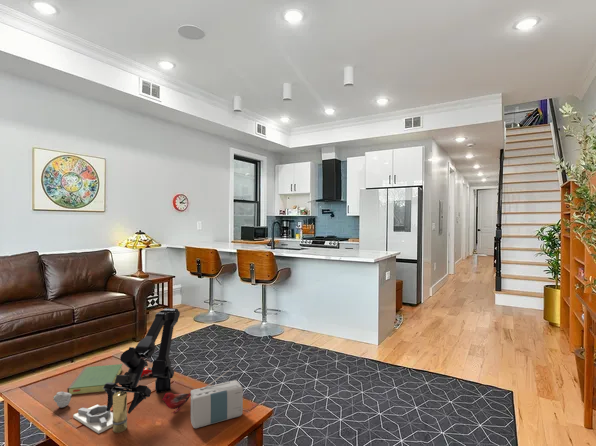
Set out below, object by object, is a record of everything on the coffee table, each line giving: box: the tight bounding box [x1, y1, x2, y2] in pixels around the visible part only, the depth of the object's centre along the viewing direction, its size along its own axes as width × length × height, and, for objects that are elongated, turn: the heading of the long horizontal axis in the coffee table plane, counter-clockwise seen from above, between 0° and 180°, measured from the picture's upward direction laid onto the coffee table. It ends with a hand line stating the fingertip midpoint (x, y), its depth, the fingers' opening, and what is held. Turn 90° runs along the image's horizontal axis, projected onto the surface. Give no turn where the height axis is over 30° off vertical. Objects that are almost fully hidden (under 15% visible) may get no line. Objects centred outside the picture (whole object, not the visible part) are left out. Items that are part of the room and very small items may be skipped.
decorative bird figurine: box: [161, 392, 191, 414], centre depth 156 cm, size 3×18×10 cm, turn 139°
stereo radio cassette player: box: [190, 365, 244, 429], centre depth 149 cm, size 21×8×20 cm, turn 119°
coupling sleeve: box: [112, 391, 128, 434], centre depth 142 cm, size 5×5×14 cm
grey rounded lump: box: [53, 391, 73, 409], centre depth 158 cm, size 6×7×7 cm
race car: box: [141, 367, 153, 379], centre depth 189 cm, size 13×5×4 cm, turn 110°
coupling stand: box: [73, 403, 113, 434], centre depth 149 cm, size 10×20×4 cm, turn 57°
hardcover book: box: [67, 363, 123, 395], centre depth 182 cm, size 25×19×4 cm
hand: (117, 412), depth 141 cm, fingers open, 9 cm apart
